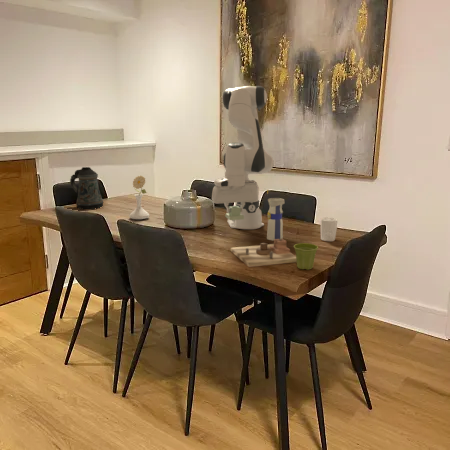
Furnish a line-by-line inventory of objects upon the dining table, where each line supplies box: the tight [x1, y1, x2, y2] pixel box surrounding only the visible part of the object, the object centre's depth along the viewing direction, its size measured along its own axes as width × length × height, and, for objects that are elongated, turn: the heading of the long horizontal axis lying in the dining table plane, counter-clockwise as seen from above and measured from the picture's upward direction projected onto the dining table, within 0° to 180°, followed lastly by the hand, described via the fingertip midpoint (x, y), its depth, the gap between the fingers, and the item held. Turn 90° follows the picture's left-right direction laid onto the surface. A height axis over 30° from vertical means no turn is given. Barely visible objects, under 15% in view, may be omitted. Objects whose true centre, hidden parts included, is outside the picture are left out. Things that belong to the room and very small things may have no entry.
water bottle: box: [266, 190, 285, 242], centre depth 218 cm, size 8×9×25 cm
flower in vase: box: [129, 175, 151, 220], centre depth 256 cm, size 13×11×25 cm
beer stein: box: [69, 166, 104, 210], centre depth 287 cm, size 16×19×25 cm
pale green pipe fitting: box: [225, 205, 244, 220], centre depth 202 cm, size 6×6×5 cm
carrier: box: [230, 238, 297, 268], centre depth 194 cm, size 22×22×7 cm
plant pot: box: [293, 242, 319, 270], centre depth 180 cm, size 9×9×9 cm
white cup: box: [320, 217, 338, 242], centre depth 219 cm, size 8×8×10 cm
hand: (234, 212), depth 202 cm, fingers closed on pale green pipe fitting, 4 cm apart
